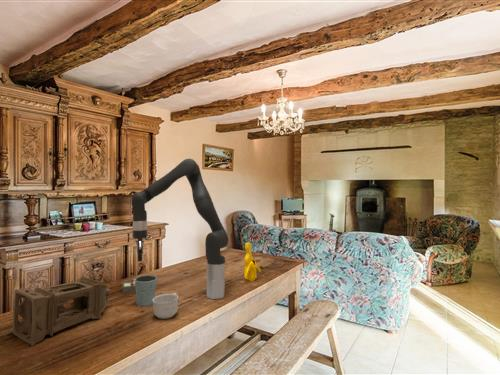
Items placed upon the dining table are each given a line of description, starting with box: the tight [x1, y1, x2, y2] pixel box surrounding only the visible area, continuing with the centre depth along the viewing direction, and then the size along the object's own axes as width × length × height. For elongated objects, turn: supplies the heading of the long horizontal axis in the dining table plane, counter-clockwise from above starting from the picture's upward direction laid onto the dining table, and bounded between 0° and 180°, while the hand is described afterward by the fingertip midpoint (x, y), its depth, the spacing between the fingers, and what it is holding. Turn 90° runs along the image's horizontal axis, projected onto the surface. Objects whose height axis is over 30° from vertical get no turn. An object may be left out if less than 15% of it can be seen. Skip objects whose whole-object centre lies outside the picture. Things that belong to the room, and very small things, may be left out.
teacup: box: [152, 292, 179, 320], centre depth 132 cm, size 14×11×8 cm
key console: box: [121, 277, 136, 294], centre depth 163 cm, size 12×14×4 cm
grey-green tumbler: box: [134, 274, 158, 307], centre depth 144 cm, size 10×10×12 cm
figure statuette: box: [243, 242, 262, 282], centre depth 182 cm, size 18×8×22 cm, turn 147°
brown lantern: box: [12, 275, 112, 347], centre depth 123 cm, size 35×18×18 cm, turn 147°
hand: (139, 260), depth 162 cm, fingers closed
